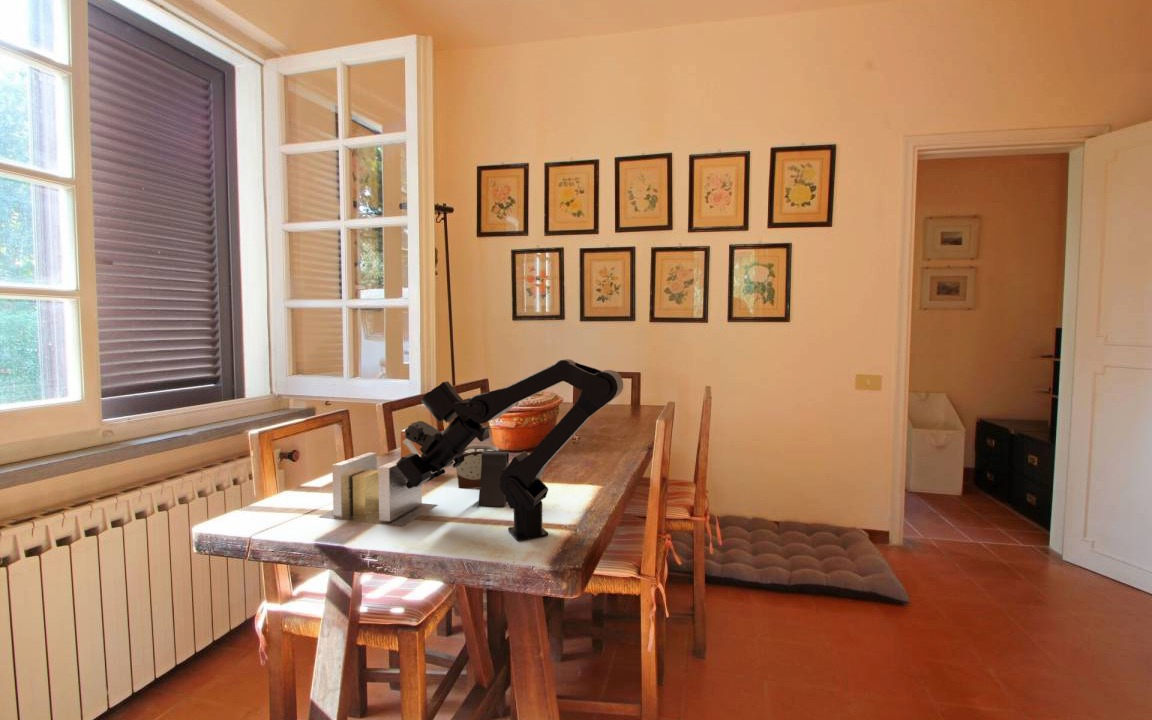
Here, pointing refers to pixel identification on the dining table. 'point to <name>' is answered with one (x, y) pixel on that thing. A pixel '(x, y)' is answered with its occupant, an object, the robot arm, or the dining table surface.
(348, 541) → the dining table surface
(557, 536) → the dining table surface
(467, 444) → the robot arm
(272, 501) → the dining table surface
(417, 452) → the small box
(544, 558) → the dining table surface
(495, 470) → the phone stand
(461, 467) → the brown cake slice
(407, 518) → the vise base
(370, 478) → the brass block
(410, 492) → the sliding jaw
